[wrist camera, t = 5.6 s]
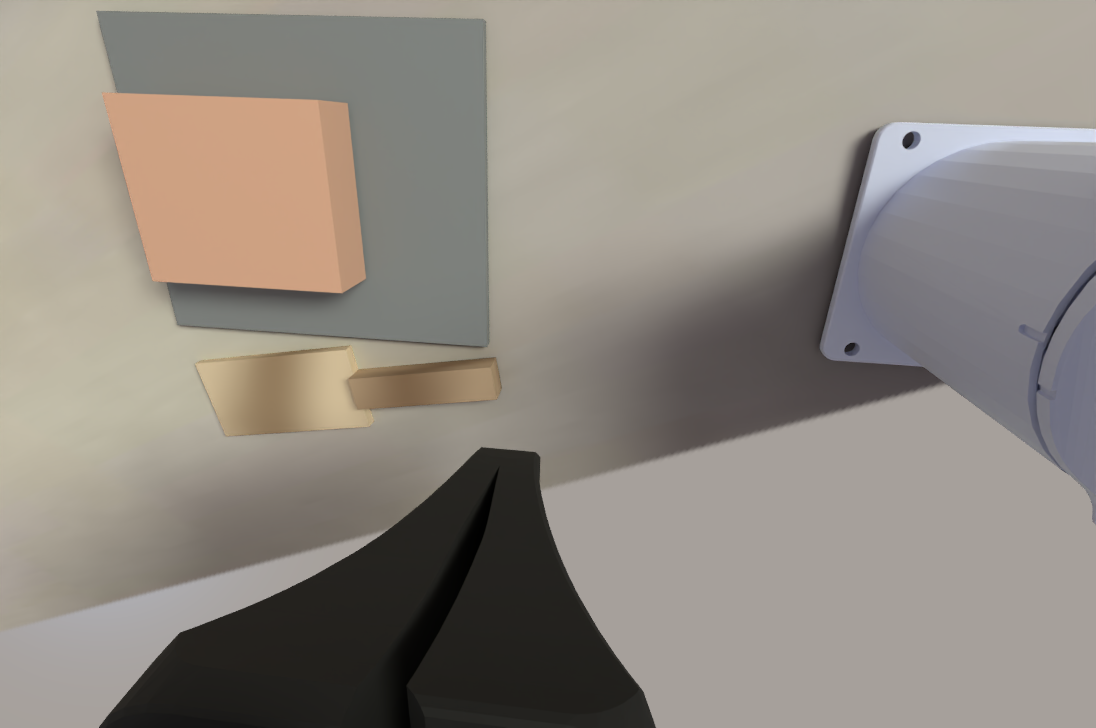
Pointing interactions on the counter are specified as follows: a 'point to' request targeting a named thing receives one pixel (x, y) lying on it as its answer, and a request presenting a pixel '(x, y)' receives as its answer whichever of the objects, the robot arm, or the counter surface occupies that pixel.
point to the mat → (378, 152)
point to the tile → (242, 189)
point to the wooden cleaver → (332, 389)
